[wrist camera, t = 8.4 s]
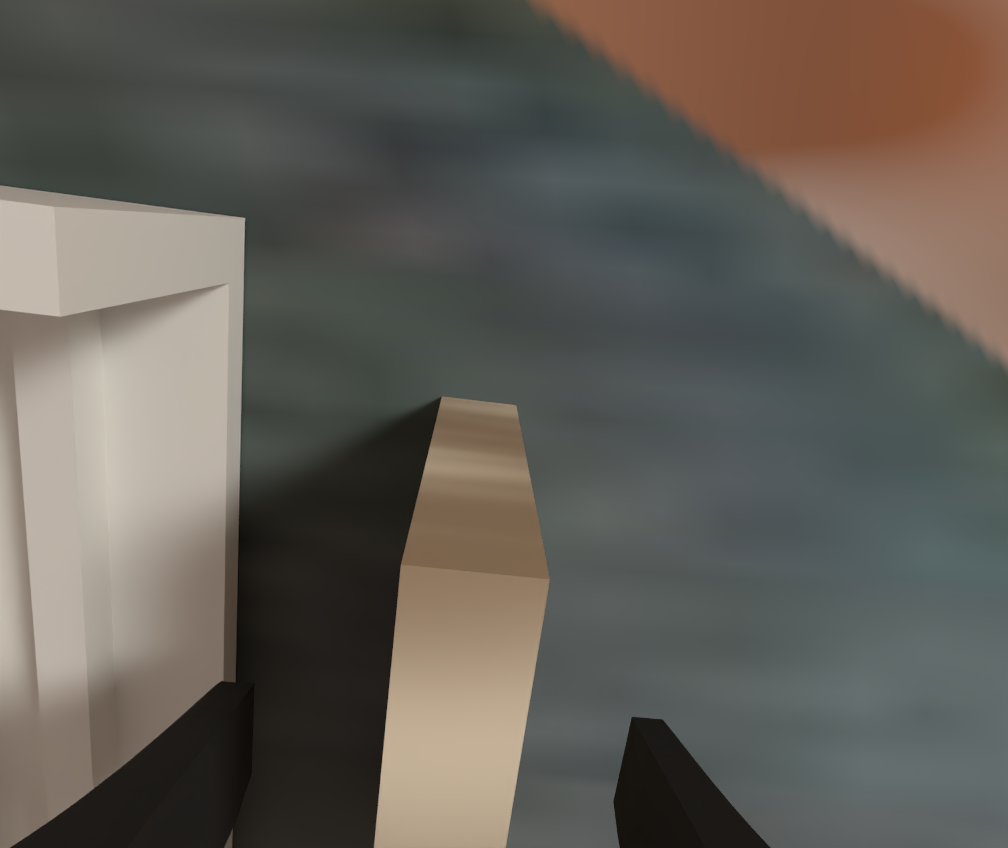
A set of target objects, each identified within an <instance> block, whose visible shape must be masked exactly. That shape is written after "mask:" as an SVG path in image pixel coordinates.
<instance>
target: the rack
mask: <svg viewBox="0 0 1008 848" xmlns="http://www.w3.org/2000/svg"><path fill="white" fill-rule="evenodd" d="M244 239H245V218H241V217H234V216H226V215H218V214H211V213H203V212H196V211H188V210H181V209H173V208H166V207H158V206H151V205H143V204H136V203H128V202H120V201H113V200H105V199H98V198H90V197H83V196H75V195H68V194H60V193H53V192H45V191H38V190H30V189H22V188H15V187H7V186H0V848H10V847H12V846H13V845H15V844H16V843H18V842H19V841H21V840H22V839H24V838H25V837H27V836H28V835H30V834H31V833H33V832H34V831H36V830H37V829H39V828H40V827H42V826H43V825H45V824H46V823H47V822H49V821H50V820H52V819H53V818H55V817H56V816H57V815H59V814H60V813H62V812H63V811H64V810H66V809H67V808H69V807H70V806H71V805H73V804H74V803H75V802H77V801H78V800H79V799H81V798H82V797H83V796H85V795H86V794H87V793H89V792H90V791H91V790H92V789H94V788H95V787H96V786H98V785H99V784H100V783H101V782H103V781H104V780H105V779H107V778H108V777H109V776H110V775H112V774H113V773H114V772H116V771H117V770H118V769H119V768H121V767H122V766H123V765H124V764H126V763H127V762H128V761H129V760H131V759H132V758H133V757H134V756H135V755H136V754H138V753H139V752H140V751H141V750H142V749H144V748H145V747H146V746H147V745H148V744H149V743H151V742H152V741H153V740H154V739H155V738H157V737H158V736H159V735H160V734H161V733H162V732H164V731H165V730H166V729H167V728H168V727H169V726H170V725H171V724H173V723H174V722H175V721H176V720H177V719H178V718H179V717H181V716H182V715H183V714H184V713H185V712H186V711H187V710H188V709H189V708H191V707H192V706H193V705H194V704H195V703H196V702H197V701H198V700H199V699H200V698H202V697H203V696H204V695H205V694H206V693H207V692H208V691H209V690H210V689H212V688H213V687H214V686H215V685H216V684H218V683H219V682H220V681H226V682H236V637H237V588H238V538H239V488H240V438H241V388H242V339H243V289H244ZM232 836H233V829H232V831H231V834H230V836H229V838H228V840H227V842H226V845H225V847H224V848H232Z"/></svg>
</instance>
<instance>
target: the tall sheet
mask: <svg viewBox="0 0 1008 848" xmlns="http://www.w3.org/2000/svg"><path fill="white" fill-rule="evenodd" d="M549 581H550V578H549V573H548V568H547V563H546V557H545V552H544V547H543V542H542V537H541V532H540V526H539V521H538V516H537V511H536V506H535V501H534V496H533V490H532V485H531V480H530V475H529V470H528V465H527V459H526V454H525V449H524V444H523V439H522V434H521V429H520V423H519V418H518V413H517V408H516V405H509V404H500V403H492V402H483V401H475V400H466V399H458V398H449V397H442V398H441V403H440V407H439V411H438V415H437V419H436V423H435V427H434V431H433V435H432V439H431V443H430V448H429V452H428V456H427V460H426V464H425V468H424V472H423V476H422V480H421V484H420V489H419V493H418V497H417V501H416V505H415V509H414V513H413V517H412V521H411V525H410V529H409V534H408V538H407V542H406V546H405V550H404V554H403V558H402V562H401V569H400V579H399V590H398V600H397V611H396V621H395V632H394V642H393V653H392V663H391V674H390V684H389V695H388V705H387V716H386V726H385V737H384V748H383V758H382V769H381V779H380V790H379V800H378V811H377V821H376V832H375V842H374V848H505V847H506V841H507V835H508V829H509V823H510V817H511V811H512V805H513V799H514V793H515V787H516V781H517V775H518V769H519V763H520V757H521V751H522V745H523V739H524V732H525V726H526V720H527V714H528V708H529V702H530V696H531V690H532V684H533V678H534V672H535V666H536V660H537V654H538V648H539V642H540V636H541V630H542V624H543V618H544V612H545V605H546V599H547V593H548V587H549Z"/></svg>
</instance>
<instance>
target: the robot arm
mask: <svg viewBox="0 0 1008 848" xmlns="http://www.w3.org/2000/svg"><path fill="white" fill-rule="evenodd" d="M253 704H254V684H249V683H238V682H226V681H220V682H219V683H218V684H216V685H215V686H214V687H213V688H212V689H210V690H209V691H208V692H207V693H206V694H205V695H204V696H203V697H202V698H200V699H199V700H198V701H197V702H196V703H195V704H194V705H193V706H192V707H191V708H189V709H188V710H187V711H186V712H185V713H184V714H183V715H182V716H181V717H179V718H178V719H177V720H176V721H175V722H174V723H173V724H171V725H170V726H169V727H168V728H167V729H166V730H165V731H164V732H162V733H161V734H160V735H159V736H158V737H157V738H155V739H154V740H153V741H152V742H151V743H149V744H148V745H147V746H146V747H145V748H144V749H142V750H141V751H140V752H139V753H138V754H136V755H135V756H134V757H133V758H132V759H131V760H129V761H128V762H127V763H126V764H124V765H123V766H122V767H121V768H119V769H118V770H117V771H116V772H114V773H113V774H112V775H110V776H109V777H108V778H107V779H105V780H104V781H103V782H101V783H100V784H99V785H98V786H96V787H95V788H94V789H92V790H91V791H90V792H89V793H87V794H86V795H85V796H83V797H82V798H81V799H79V800H78V801H77V802H75V803H74V804H73V805H71V806H70V807H69V808H67V809H66V810H64V811H63V812H62V813H60V814H59V815H57V816H56V817H55V818H53V819H52V820H50V821H49V822H47V823H46V824H45V825H43V826H42V827H40V828H39V829H37V830H36V831H34V832H33V833H31V834H30V835H28V836H27V837H25V838H24V839H22V840H21V841H19V842H18V843H16V844H15V845H13V846H12V847H10V848H224V847H225V845H226V842H227V840H228V838H229V836H230V834H231V831H232V829H233V826H234V823H235V820H236V818H237V815H238V812H239V809H240V806H241V803H242V800H243V797H244V794H245V791H246V788H247V785H248V782H249V779H250V776H251V772H252V738H253ZM614 809H615V817H616V825H617V833H618V839H619V846H620V848H770V847H769V846H768V845H767V844H766V843H765V841H764V840H763V839H762V838H761V837H760V836H759V835H758V834H757V833H756V832H755V831H754V830H753V829H752V828H751V826H750V825H749V824H748V823H747V822H746V821H745V820H744V818H743V817H742V816H741V815H740V814H739V813H738V812H737V811H736V809H735V808H734V807H733V806H732V805H731V804H730V802H729V801H728V800H727V799H726V798H725V796H724V795H723V794H722V793H721V792H720V791H719V789H718V788H717V787H716V786H715V785H714V783H713V782H712V781H711V780H710V778H709V777H708V776H707V775H706V773H705V772H704V771H703V770H702V768H701V767H700V766H699V765H698V763H697V762H696V761H695V760H694V758H693V757H692V756H691V755H690V753H689V752H688V751H687V750H686V748H685V747H684V746H683V744H682V743H681V742H680V741H679V739H678V738H677V737H676V736H675V734H674V733H673V732H672V731H671V729H670V728H669V727H668V726H667V724H666V723H665V722H664V721H663V720H661V719H650V718H638V717H632V719H631V724H630V728H629V733H628V737H627V742H626V747H625V751H624V756H623V760H622V765H621V770H620V774H619V779H618V783H617V788H616V793H615V797H614Z"/></svg>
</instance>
